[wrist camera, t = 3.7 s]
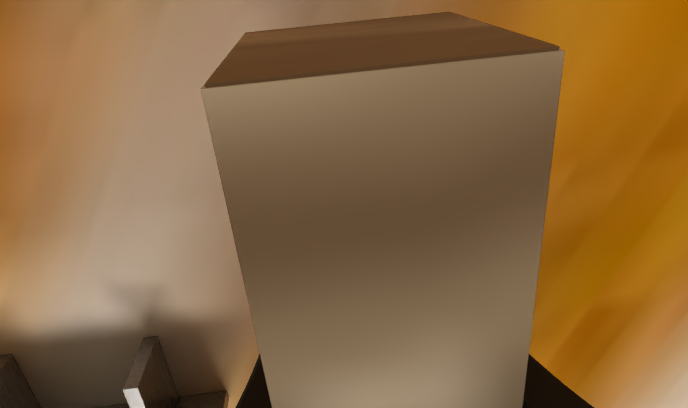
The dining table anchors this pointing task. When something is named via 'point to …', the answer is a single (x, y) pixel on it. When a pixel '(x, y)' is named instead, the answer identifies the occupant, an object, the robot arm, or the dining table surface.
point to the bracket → (140, 388)
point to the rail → (388, 205)
